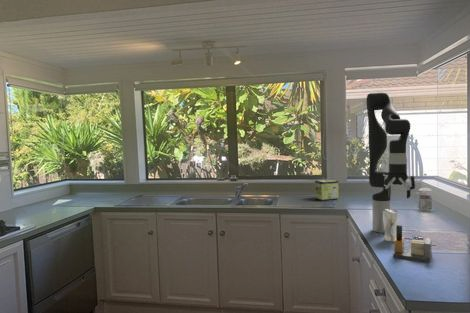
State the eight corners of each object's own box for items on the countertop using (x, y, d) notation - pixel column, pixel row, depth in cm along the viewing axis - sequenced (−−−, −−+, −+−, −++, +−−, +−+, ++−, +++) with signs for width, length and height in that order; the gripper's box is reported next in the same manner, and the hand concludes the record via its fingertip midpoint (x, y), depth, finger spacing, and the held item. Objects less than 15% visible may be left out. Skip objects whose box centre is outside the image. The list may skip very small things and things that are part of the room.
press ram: (396, 247, 166) (396, 223, 165) (403, 248, 165) (403, 224, 164) (394, 251, 160) (394, 227, 160) (401, 252, 159) (401, 228, 158)
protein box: (315, 199, 298) (314, 180, 297) (331, 197, 303) (331, 179, 302) (321, 201, 288) (321, 182, 287) (338, 199, 293) (338, 180, 292)
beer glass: (381, 240, 182) (381, 211, 181) (384, 237, 188) (384, 208, 187) (396, 242, 178) (396, 212, 177) (399, 239, 184) (399, 209, 183)
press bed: (397, 249, 168) (397, 233, 168) (431, 253, 161) (431, 237, 161) (393, 257, 158) (393, 240, 158) (429, 262, 151) (429, 244, 150)
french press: (435, 211, 241) (435, 174, 239) (416, 211, 243) (416, 174, 242) (430, 208, 251) (430, 172, 249) (412, 208, 253) (412, 172, 251)
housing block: (412, 250, 162) (412, 239, 162) (425, 252, 159) (425, 240, 159) (411, 253, 158) (411, 242, 157) (424, 255, 155) (424, 244, 155)
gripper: (379, 163, 168) (380, 197, 169) (414, 163, 161) (414, 200, 162) (382, 161, 174) (382, 195, 176) (415, 162, 167) (415, 197, 168)
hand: (397, 197), depth 169 cm, fingers open, 8 cm apart
